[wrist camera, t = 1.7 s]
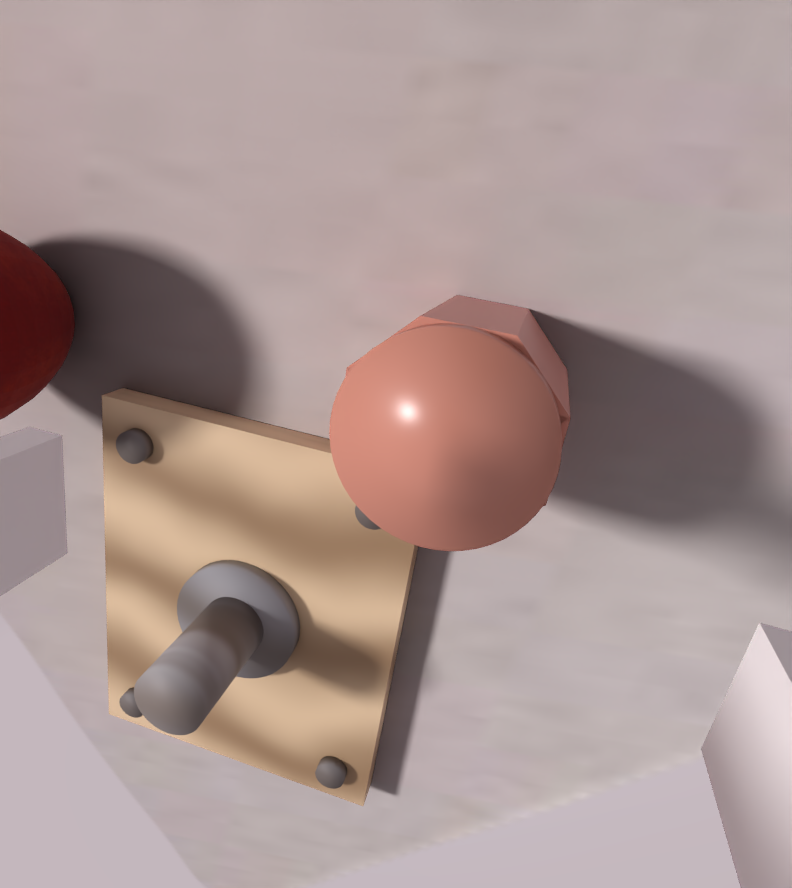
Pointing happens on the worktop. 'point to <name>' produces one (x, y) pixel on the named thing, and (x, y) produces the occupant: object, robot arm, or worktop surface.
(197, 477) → the stud plate
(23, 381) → the apple
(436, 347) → the cap
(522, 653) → the worktop surface
